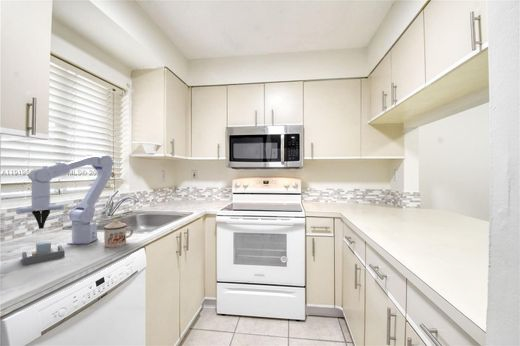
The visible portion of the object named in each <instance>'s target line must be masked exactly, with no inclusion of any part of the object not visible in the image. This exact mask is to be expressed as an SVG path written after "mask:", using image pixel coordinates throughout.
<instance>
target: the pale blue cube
mask: <svg viewBox="0 0 520 346" xmlns="http://www.w3.org/2000/svg"><path fill="white" fill-rule="evenodd" d="M35 247H36V248H35V251H36V254H37V255H40V254H45V253H50V252H51V248H52V242H51V241H50V240H46V241H45V240H44V241H41V242H36V243H35Z"/></svg>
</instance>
